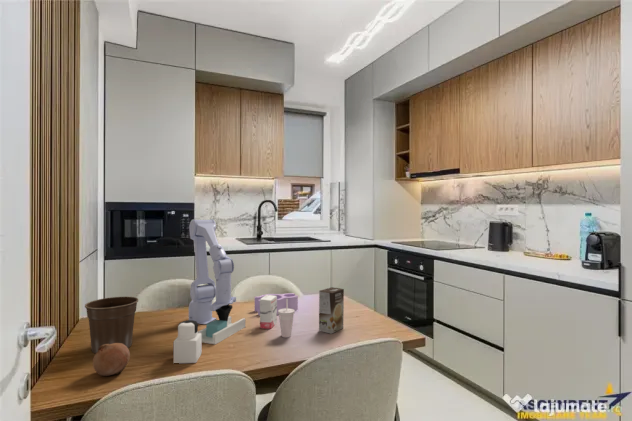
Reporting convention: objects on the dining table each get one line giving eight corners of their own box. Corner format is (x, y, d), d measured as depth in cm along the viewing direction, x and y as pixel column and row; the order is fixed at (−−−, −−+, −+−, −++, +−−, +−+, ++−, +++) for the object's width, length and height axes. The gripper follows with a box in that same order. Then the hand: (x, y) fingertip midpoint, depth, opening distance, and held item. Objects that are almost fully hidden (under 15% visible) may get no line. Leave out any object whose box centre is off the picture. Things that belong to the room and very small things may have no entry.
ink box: (270, 329, 141) (270, 300, 141) (259, 328, 142) (259, 299, 142) (277, 322, 149) (277, 295, 149) (266, 321, 150) (266, 294, 150)
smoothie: (297, 333, 136) (297, 298, 136) (290, 339, 130) (290, 302, 130) (282, 331, 138) (282, 296, 138) (275, 337, 132) (275, 300, 132)
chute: (228, 324, 146) (228, 316, 146) (245, 326, 144) (245, 318, 144) (197, 341, 128) (197, 331, 128) (215, 344, 125) (215, 334, 125)
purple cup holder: (292, 305, 177) (292, 291, 177) (301, 312, 165) (301, 297, 165) (253, 309, 168) (253, 295, 168) (259, 317, 157) (259, 302, 157)
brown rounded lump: (96, 387, 101) (78, 359, 99) (119, 364, 110) (102, 338, 108) (121, 380, 98) (103, 351, 96) (142, 357, 107) (126, 330, 105)
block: (216, 331, 136) (216, 319, 136) (227, 332, 134) (227, 321, 134) (206, 336, 130) (206, 324, 130) (217, 338, 129) (217, 326, 128)
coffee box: (331, 334, 136) (332, 293, 135) (318, 330, 139) (318, 290, 139) (344, 327, 143) (344, 288, 143) (330, 324, 147) (331, 286, 147)
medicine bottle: (179, 354, 116) (179, 318, 116) (201, 353, 117) (201, 318, 117) (172, 364, 109) (173, 325, 109) (196, 363, 110) (196, 325, 110)
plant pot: (104, 338, 130) (104, 295, 130) (147, 339, 130) (147, 296, 130) (73, 357, 114) (72, 307, 114) (121, 357, 114) (121, 308, 114)
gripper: (220, 295, 128) (220, 332, 128) (242, 286, 141) (242, 320, 142) (205, 293, 130) (205, 329, 130) (227, 285, 144) (227, 318, 144)
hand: (223, 324), depth 136 cm, fingers closed
